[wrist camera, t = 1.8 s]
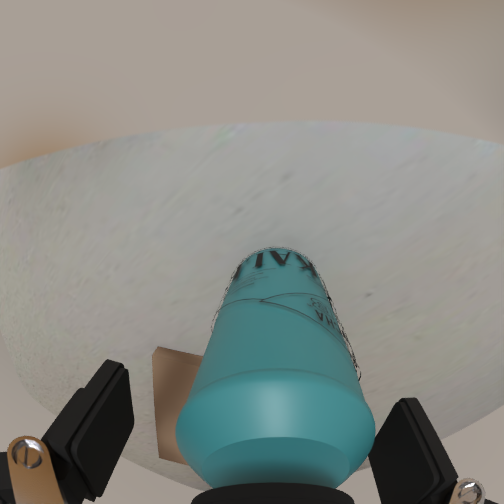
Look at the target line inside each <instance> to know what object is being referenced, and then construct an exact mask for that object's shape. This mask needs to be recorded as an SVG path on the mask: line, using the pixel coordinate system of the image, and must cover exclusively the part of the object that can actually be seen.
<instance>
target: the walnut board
mask: <svg viewBox="0 0 504 504" xmlns="http://www.w3.org/2000/svg"><path fill="white" fill-rule="evenodd" d="M202 359H203V356H198V355H193V354H189V353H184V352H180V351H175V350H171V349H167V348H162V347H157V349H156V350H155V352H154V353H153V355H152V366H153V389H154V406H155V420H156V431H157V442H158V451H159V458H162V459H165V460H169V461H173V462H177V463H181V464H185V465H189V464H188V463H187V462H186V460H185V459H184V457H183V456H182V454H181V453H180V451H179V448H178V446H177V441H176V436H175V427H176V423H177V419H178V416H179V414H180V412H181V410H182V408H183V406H184V405H185V403H186V401H187V399H188V396H189V393H190V391H191V388H192V385H193V383H194V380H195V377H196V375H197V372H198V369H199V367H200V364H201V362H202Z"/></svg>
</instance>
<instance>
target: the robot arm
mask: <svg viewBox="0 0 504 504" xmlns="http://www.w3.org/2000/svg"><path fill="white" fill-rule="evenodd" d="M133 427H134V414H133V407H132V399H131V391H130V382H129V372H128V369H125V368H124V365H123V364H122V363H119V362H115V361H112V360H109V359H107V360H106V361H105V362H104V363H103V364H102V366H101V367H100V368H99V369H98V371H97V372H96V373H95V375H94V376H93V377H92V379H91V380H90V381H89V383H88V384H87V385H86V387H85V388H80V389H78V390H77V391H76V392H75V394H74V395H73V396H72V398H71V399H70V400H69V402H68V403H67V404H66V406H65V407H64V408H63V410H62V411H61V412H60V414H59V415H58V416H57V418H56V419H55V421H54V422H53V423H52V425H51V426H50V428H49V429H48V430H47V432H46V433H45V435H44V436H43V437H42V439H41V440H39V439H38V438H35V437H32V436H21V437H18V438H16V439H14V440H13V441H12V442H11V443H10V444H9V447H8V449H7V452H0V504H82V502H83V500H84V498H85V499H88V500H90V501H92V502H94V501H95V499H96V497H101V496H102V494H103V493H104V490H105V488H106V486H107V484H108V481H109V479H110V477H111V475H112V473H113V470H114V468H115V466H116V464H117V461H118V459H119V457H120V455H121V453H122V451H123V449H124V446H125V444H126V442H127V440H128V438H129V436H130V434H131V432H132V429H133ZM368 457H369V461H370V464H371V468H372V471H373V475H374V478H375V482H376V485H377V489H378V493H379V496H380V500H381V504H498V503H495V502H492V501H490V500H487V499H485V491H484V488H483V486H482V484H480V483H479V482H478V481H476V480H474V479H470V478H466V479H463V480H461V481H459V482H457V480H456V479H457V478H458V475H457V473H456V471H455V469H454V467H453V465H452V463H451V461H450V459H449V457H448V455H447V453H446V451H445V449H444V447H443V445H442V443H441V441H440V439H439V437H438V435H437V433H436V432H435V430H434V428H433V426H432V424H431V422H430V421H429V419H428V417H427V415H426V413H425V411H424V410H423V408H422V406H421V404H420V403H419V401H418V399H417V398H401V399H400V400H399V402H397V403H395V405H394V406H393V408H392V410H391V412H390V414H389V415H388V417H387V419H386V420H385V422H384V424H383V426H382V427H381V429H380V431H379V432H378V434H377V435H376V437H375V439H374V443H373V446H372V449H371V451H370V452H369V454H368Z"/></svg>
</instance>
